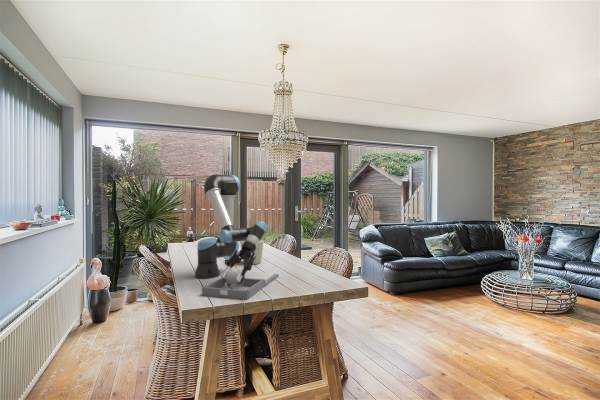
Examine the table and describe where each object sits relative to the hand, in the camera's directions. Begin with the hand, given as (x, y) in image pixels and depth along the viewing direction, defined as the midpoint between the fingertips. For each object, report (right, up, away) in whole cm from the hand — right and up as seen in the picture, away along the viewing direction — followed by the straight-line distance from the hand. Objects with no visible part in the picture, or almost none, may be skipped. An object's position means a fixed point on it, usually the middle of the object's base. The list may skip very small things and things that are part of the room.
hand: (231, 279), depth 171 cm
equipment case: (+5, -7, +14) cm, 16 cm away
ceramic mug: (+1, -4, +2) cm, 5 cm away
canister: (0, -6, +73) cm, 73 cm away
